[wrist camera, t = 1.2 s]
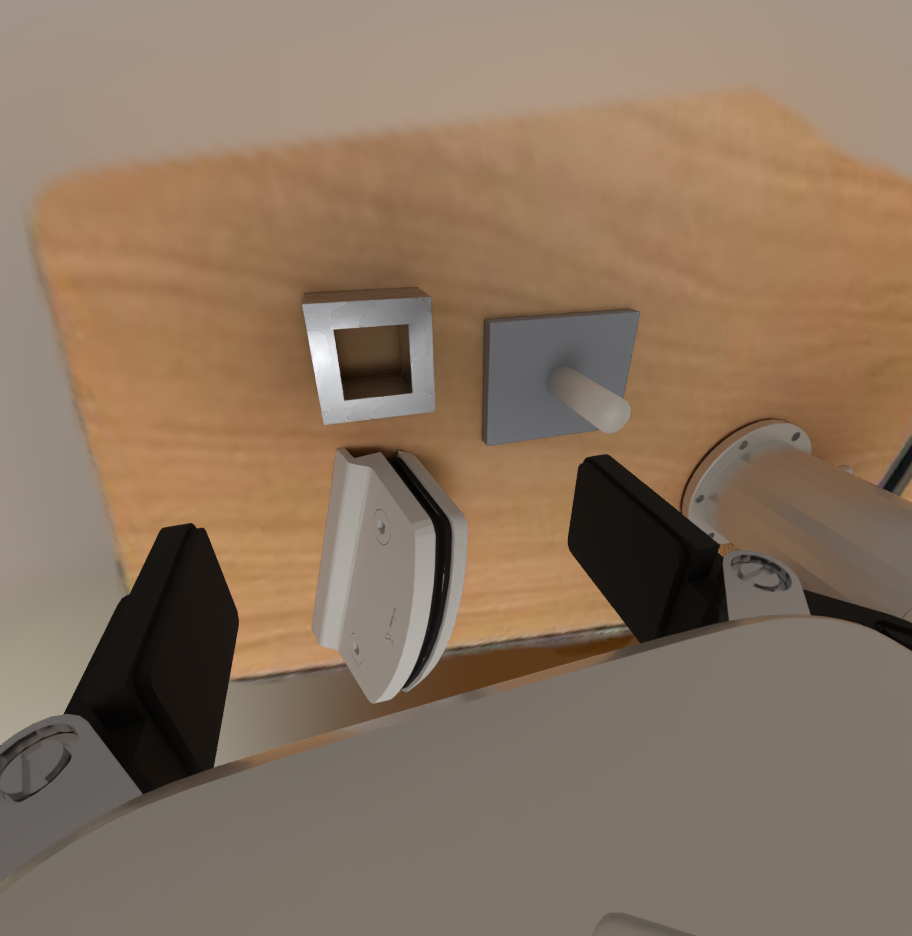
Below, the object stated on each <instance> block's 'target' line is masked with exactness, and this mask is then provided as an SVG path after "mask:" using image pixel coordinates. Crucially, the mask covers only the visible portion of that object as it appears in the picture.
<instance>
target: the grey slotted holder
mask: <svg viewBox="0 0 912 936" xmlns="http://www.w3.org/2000/svg"><path fill="white" fill-rule="evenodd" d="M467 538H468V527H467V521H466V519H465V516H464V514H463V513H462V512H461V511H460V509H459V508H458V507H457V506H456V504H455V503H454V502H453V501H452V500H451V498H450V497H449V496H448V495H447V494H446V492H445V491H444V490H443V489H442V488H441V486H440V485H439V484H438V483H437V481H436V480H435V479H434V478H433V477H432V475H431V474H430V473H429V472H428V471H427V469H426V468H425V467H424V466H423V464H422V463H421V462H420V461H419V460H418V458H417V457H416V456H415V455H414V454H412V453H409V452H404V451H398V455H397V457H394V460H393V464H392V462H391V461H390V460H389V459H388V458H385V457H384V456H383V454H382V453H381V452H378V453H374V454H370V455H366V456H362V457H358V458H353V457H352V455H351V454H350V453H349V452H348V451H347V450H346V449H345V448H338V449H337V451H336V458H335V465H334V472H333V479H332V487H331V494H330V501H329V508H328V515H327V522H326V529H325V537H324V544H323V551H322V558H321V565H320V572H319V579H318V586H317V594H316V601H315V608H314V615H313V622H312V631H313V633H314V635H315V637H316V639H317V641H318V643H319V645H321V646H323V647H326V648H330V649H334V650H337V651H338V652H339V653H340V655H341V656H342V658H343V660H344V661H345V663H346V664H347V666H348V668H349V669H350V671H351V673H352V674H353V676H354V677H355V679H356V681H357V682H358V684H359V685H360V687H361V689H362V690H363V692H364V694H365V695H366V697H367V699H368V700H369V701H370V702H371V703H377V702H382V701H386V700H390V699H392V698H393V697H394V696H395V695H396V694H397V693H398V692H399V691H400V690H402V691H404V692H407V691H409V690H410V689H412V688H413V687H414V686H415V685H416V684H418V683H419V682H420V681H421V680H422V679H424V678H425V677H426V676H427V675H428V674H429V672H430V671H431V670H432V669H433V668H434V666H435V665H436V664H437V662H438V661H439V659H440V657H441V655H442V654H443V652H444V650H445V648H446V645H447V643H448V641H449V639H450V636H451V633H452V631H453V628H454V624H455V621H456V618H457V614H458V610H459V606H460V601H461V596H462V591H463V585H464V578H465V570H466V558H467Z"/></svg>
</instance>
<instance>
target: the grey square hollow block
mask: <svg viewBox="0 0 912 936" xmlns="http://www.w3.org/2000/svg"><path fill="white" fill-rule="evenodd" d="M302 306H303V312H304V317H305V323H306V328H307V334H308V339H309V345H310V350H311V356H312V362H313V367H314V373H315V378H316V384H317V389H318V395H319V400H320V406H321V411H322V417H323V422H324V425H328V424H336V423H344V422H353V421H361V420H369V419H377V418H386V417H394V416H402V415H411V414H419V413H427V412H435V388H434V362H433V336H432V310H431V296H429V295H428V294H426V293H425V292H423V291H422V290H420V289H419V288H418V287H407V288H388V289H370V290H351V291H332V292H313V293H304V295H303V302H302ZM388 325H398V330H399V343H400V356H401V369H402V374H392V375H382V376H372V377H362V378H352V379H341V377H340V370H339V364H338V357H337V350H336V344H335V337H334V330H333V329H346V328H360V327H374V326H388Z"/></svg>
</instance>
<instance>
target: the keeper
mask: <svg viewBox="0 0 912 936" xmlns="http://www.w3.org/2000/svg"><path fill="white" fill-rule="evenodd" d="M639 315H640V312H639V311H636V310H633V309H622V310H608V311H595V312H581V313H567V314H553V315H540V316H526V317H512V318H498V319H485V328H484V377H483V426H482V440H483V441H484V443H485V444H486V445H487V446H491V445H498V444H505V443H512V442H519V441H526V440H533V439H540V438H547V437H554V436H561V435H568V434H575V433H581V432H588V431H595V430H601V431H602V432H604V433H614V432H617V431H618V430H620V429H621V428H622V427H624V425H625V424H626V423H627V421H628V420H629V417H630V414H631V408H630V405H629V403H628V402H627V401H626V400H624V399H623V398H624V393H625V388H626V383H627V377H628V372H629V367H630V362H631V357H632V352H633V346H634V341H635V336H636V331H637V326H638V320H639Z"/></svg>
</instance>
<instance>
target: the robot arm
mask: <svg viewBox="0 0 912 936" xmlns="http://www.w3.org/2000/svg"><path fill="white" fill-rule="evenodd" d="M726 543H732V544H733V545H734V546H735V547H737V548H738V549H739V550H736V551H733V552H730V553H728V554H727V555H726V556H725V557H722V556H721V555H720V554H719V553H718V549H719V547H720V544H726ZM568 547H569V550H570V552H571V553H572V555H573V556H574V557H575V559H576V560H577V561H578V563H579V564H580V565H581V566H582V568H583V569H584V570H585V572H586V573H587V574H588V576H589V577H590V578H591V580H592V581H593V582H594V583H595V585H596V586H597V587H598V589H599V590H600V591H601V593H602V594H603V595H604V596H605V598H606V599H607V600H608V602H609V603H610V604H611V606H612V607H613V608H614V609H615V611H616V612H617V613H618V615H619V616H620V617H621V619H622V620H623V621H624V623H625V624H626V625H627V626H628V628H629V629H630V630H631V632H632V633H633V634H634V636H635V637H636V638H637V639H638V641H639V642H640V644H637V645H633V646H630V647H626V648H622V649H619V650H615V651H612V652H608V653H604V654H601V655H597V656H594V657H590V658H587V659H583V660H579V661H576V662H572V663H569V664H565V665H561V666H558V667H554V668H551V669H548V670H544V671H540V672H537V673H533V674H530V675H526V676H523V677H519V678H516V679H513V680H509V681H505V682H502V683H498V684H495V685H492V686H488V687H484V688H481V689H477V690H474V691H470V692H467V693H463V694H460V695H456V696H453V697H450V698H446V699H442V700H439V701H435V702H432V703H429V704H425V705H422V706H418V707H415V708H411V709H408V710H404V711H401V712H398V713H394V714H391V715H387V716H384V717H380V718H377V719H374V720H370V721H367V722H363V723H360V724H356V725H353V726H349V727H346V728H343V729H339V730H336V731H332V732H329V733H325V734H322V735H319V736H315V737H312V738H308V739H305V740H302V741H298V742H295V743H292V744H289V745H286V746H282V747H279V748H276V749H272V750H269V751H266V752H263V753H260V754H256V755H253V756H250V757H246V758H243V759H240V760H237V761H234V762H230V763H227V764H224V765H221V766H217V767H215V768H214V762H215V757H216V751H217V746H218V740H219V734H220V728H221V723H222V717H223V712H224V706H225V700H226V694H227V689H228V683H229V678H230V672H231V666H232V661H233V655H234V649H235V644H236V638H237V632H238V626H239V618H238V612H237V609H236V606H235V604H234V601H233V599H232V596H231V594H230V591H229V588H228V586H227V583H226V581H225V578H224V576H223V573H222V571H221V568H220V565H219V563H218V560H217V558H216V555H215V553H214V550H213V548H212V545H211V542H210V540H209V537H208V535H207V532H206V530H205V529H204V528H198V529H197V528H196V526H195V525H194V524H192V523H189V524H183V525H177V526H170V527H164V528H162V529H161V530H160V532H159V534H158V536H157V538H156V540H155V542H154V544H153V546H152V549H151V551H150V553H149V555H148V557H147V559H146V561H145V563H144V565H143V567H142V569H141V572H140V574H139V576H138V578H137V580H136V582H135V584H134V586H133V588H132V590H131V593H130V595H126V596H125V597H123V598H122V599H121V601H120V602H119V604H118V605H117V607H116V609H115V611H114V613H113V615H112V617H111V620H110V621H109V623H108V626H107V627H106V629H105V632H104V634H103V636H102V638H101V640H100V642H99V644H98V646H97V648H96V650H95V652H94V654H93V656H92V658H91V660H90V662H89V664H88V666H87V668H86V670H85V672H84V674H83V676H82V678H81V680H80V682H79V684H78V686H77V688H76V690H75V692H74V694H73V696H72V698H71V700H70V702H69V704H68V706H67V708H66V710H65V712H64V714H63V715H58V716H53V717H49V718H47V719H44V720H41V721H39V722H36V723H34V724H32V725H30V726H28V727H27V728H25V729H23V730H22V731H20V732H18V733H17V734H15V735H13V736H12V737H11V738H9V739H8V740H7V741H5V742H4V743H3V744H2V745H0V936H912V503H911V502H909V501H907V500H905V499H903V498H901V497H899V496H897V495H895V494H893V493H891V492H889V491H886V490H884V489H882V488H880V487H878V486H876V485H874V484H872V483H870V482H868V481H866V480H864V479H861V478H859V477H857V476H855V475H854V472H853V469H852V468H851V467H849V466H846V465H842V466H837V467H836V466H834V465H832V464H830V463H828V462H826V461H824V460H822V459H820V458H818V457H816V456H814V455H812V448H811V442H810V439H809V436H808V435H807V434H806V432H805V431H804V430H803V429H801V428H800V427H798V426H796V425H794V424H792V423H789V422H786V421H784V420H775V419H772V420H765V421H760V422H757V423H754V424H751V425H749V426H747V427H745V428H743V429H741V430H739V431H737V432H735V433H734V434H732V435H731V436H729V437H728V438H727V439H725V440H724V441H723V442H721V443H720V444H719V445H718V446H717V447H716V448H715V449H714V450H712V451H711V453H710V454H709V455H708V456H707V457H706V458H705V459H704V460H703V462H702V463H701V464H700V466H699V467H698V469H697V470H696V471H695V473H694V475H693V476H692V478H691V480H690V482H689V484H688V486H687V489H686V492H685V495H684V499H683V505H682V514H681V513H680V512H679V511H678V510H676V509H675V508H674V507H673V506H672V505H670V504H669V503H668V502H667V501H665V500H664V499H663V498H662V497H660V496H659V495H658V494H657V493H655V492H654V491H653V490H652V489H650V488H649V487H648V486H647V485H646V484H644V483H643V482H642V481H641V480H639V479H638V478H637V477H636V476H634V475H633V474H632V473H631V472H629V471H628V470H627V469H626V468H625V467H623V466H622V465H621V464H620V463H618V462H617V461H616V460H615V459H613V458H612V457H611V456H609V455H608V454H604V455H598V456H592V457H587V458H585V460H584V461H583V463H582V464H580V465H579V467H578V473H577V480H576V486H575V493H574V500H573V507H572V514H571V521H570V527H569V534H568Z"/></svg>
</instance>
